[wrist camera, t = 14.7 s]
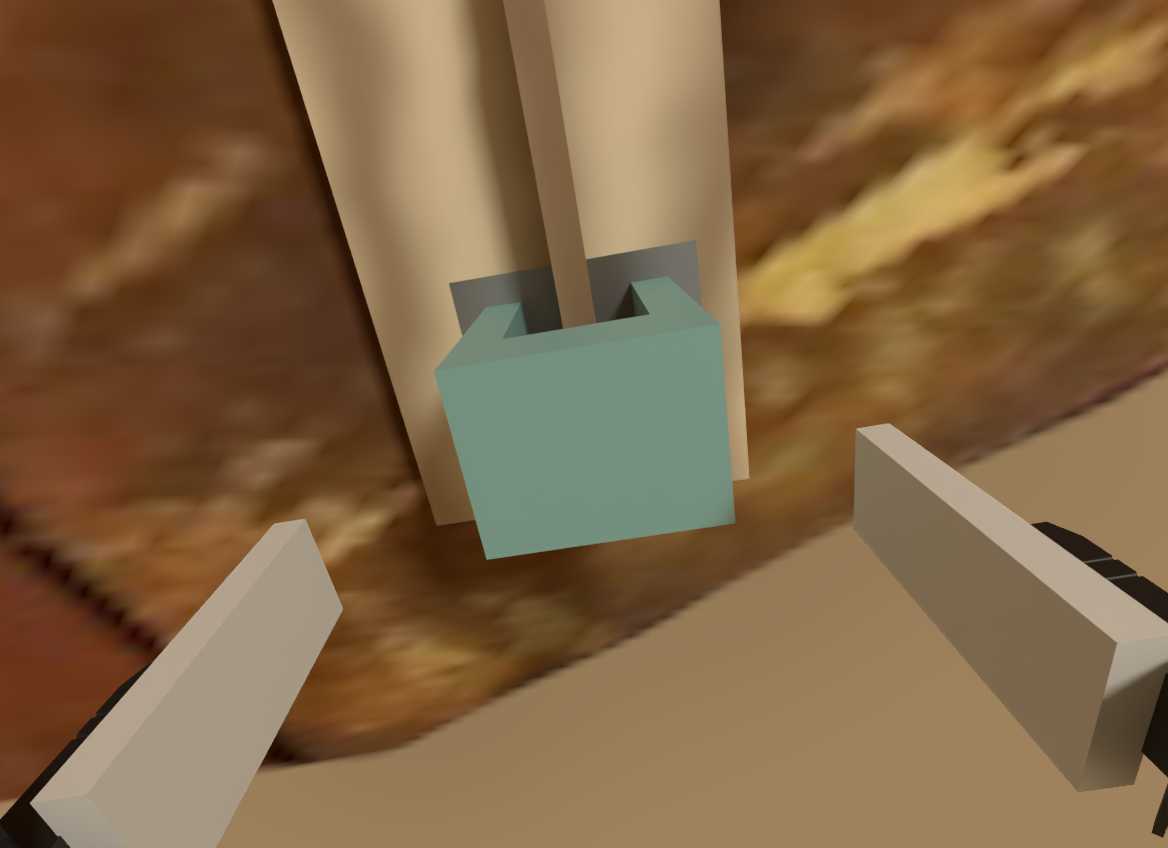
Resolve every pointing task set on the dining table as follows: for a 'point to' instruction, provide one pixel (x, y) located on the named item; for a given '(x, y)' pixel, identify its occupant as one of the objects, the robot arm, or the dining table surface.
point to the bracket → (591, 425)
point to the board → (519, 175)
